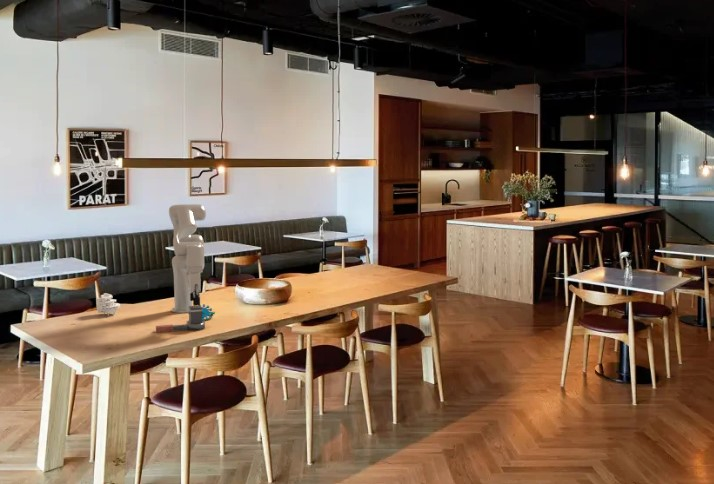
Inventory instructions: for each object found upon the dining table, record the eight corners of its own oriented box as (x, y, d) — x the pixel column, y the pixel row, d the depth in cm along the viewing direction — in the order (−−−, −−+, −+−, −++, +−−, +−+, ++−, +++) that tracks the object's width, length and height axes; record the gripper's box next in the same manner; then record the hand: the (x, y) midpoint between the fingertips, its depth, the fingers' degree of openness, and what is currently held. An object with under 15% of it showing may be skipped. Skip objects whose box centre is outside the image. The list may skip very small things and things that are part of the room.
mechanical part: (121, 315, 348) (120, 294, 347) (97, 317, 343) (96, 296, 341) (119, 311, 358) (118, 290, 357) (96, 313, 353) (95, 292, 352)
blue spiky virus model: (192, 318, 336) (194, 302, 343) (191, 324, 341) (193, 308, 347) (214, 320, 339) (215, 304, 345) (213, 326, 343) (214, 310, 350)
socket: (188, 321, 324) (188, 306, 323) (200, 320, 326) (200, 305, 325) (190, 324, 319) (190, 308, 318) (202, 323, 321) (202, 307, 320)
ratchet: (155, 329, 319) (154, 315, 319) (203, 325, 328) (203, 312, 328) (157, 334, 311) (156, 319, 310) (206, 329, 320) (206, 316, 319)
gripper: (184, 266, 326) (184, 299, 328) (189, 272, 310) (190, 307, 312) (199, 265, 329) (199, 298, 331) (205, 272, 313) (205, 306, 315)
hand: (195, 302), depth 322 cm, fingers open, 9 cm apart
